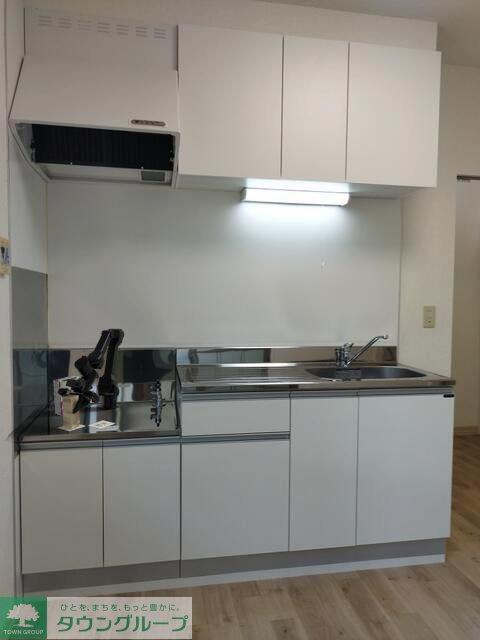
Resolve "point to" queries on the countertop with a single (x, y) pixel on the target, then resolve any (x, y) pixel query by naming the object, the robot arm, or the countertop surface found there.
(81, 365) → the robot arm
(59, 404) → the candy bar box
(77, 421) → the beech block
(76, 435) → the countertop surface
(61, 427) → the tile
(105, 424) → the code tile
